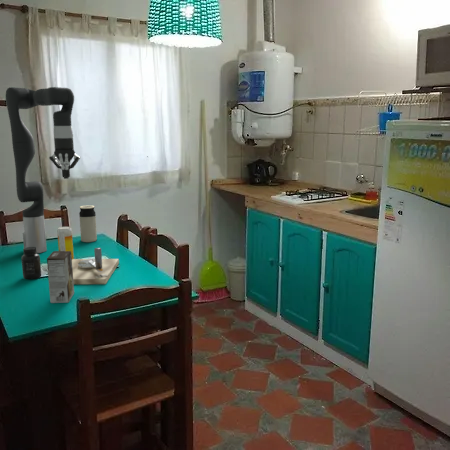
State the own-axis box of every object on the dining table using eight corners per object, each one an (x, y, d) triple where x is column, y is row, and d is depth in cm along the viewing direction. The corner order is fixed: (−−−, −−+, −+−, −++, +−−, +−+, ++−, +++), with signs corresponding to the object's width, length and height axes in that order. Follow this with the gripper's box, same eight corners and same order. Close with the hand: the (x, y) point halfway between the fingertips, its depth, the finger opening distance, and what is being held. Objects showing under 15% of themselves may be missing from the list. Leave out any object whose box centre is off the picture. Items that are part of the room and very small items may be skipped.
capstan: (75, 264, 199) (74, 240, 196) (97, 261, 203) (95, 237, 201) (90, 278, 181) (88, 252, 179) (113, 274, 186) (111, 248, 184)
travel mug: (100, 239, 249) (98, 205, 245) (90, 243, 242) (87, 208, 238) (88, 238, 252) (86, 204, 248) (77, 241, 245) (75, 207, 241)
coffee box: (56, 293, 172) (53, 250, 168) (74, 293, 172) (71, 250, 169) (49, 303, 163) (45, 258, 159) (68, 302, 163) (65, 257, 160)
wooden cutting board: (52, 284, 181) (52, 278, 181) (72, 263, 208) (72, 258, 207) (106, 284, 182) (106, 278, 181) (119, 263, 208) (119, 258, 208)
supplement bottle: (45, 275, 192) (42, 246, 189) (33, 280, 185) (30, 251, 183) (31, 273, 194) (28, 245, 191) (19, 278, 187) (16, 249, 185)
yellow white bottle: (76, 258, 215) (73, 226, 211) (70, 262, 209) (68, 229, 205) (63, 258, 215) (60, 226, 212) (57, 262, 209) (54, 229, 206)
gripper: (44, 137, 194) (47, 179, 198) (77, 137, 195) (79, 179, 199) (50, 136, 202) (53, 177, 205) (81, 136, 202) (84, 177, 206)
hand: (66, 178), depth 202 cm, fingers closed
